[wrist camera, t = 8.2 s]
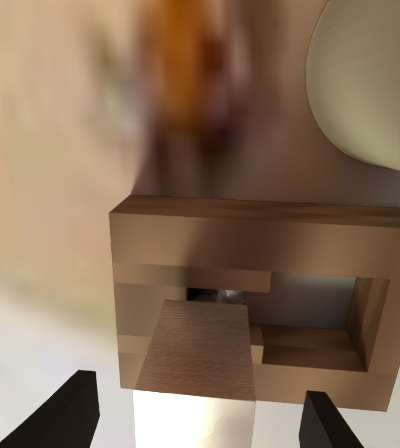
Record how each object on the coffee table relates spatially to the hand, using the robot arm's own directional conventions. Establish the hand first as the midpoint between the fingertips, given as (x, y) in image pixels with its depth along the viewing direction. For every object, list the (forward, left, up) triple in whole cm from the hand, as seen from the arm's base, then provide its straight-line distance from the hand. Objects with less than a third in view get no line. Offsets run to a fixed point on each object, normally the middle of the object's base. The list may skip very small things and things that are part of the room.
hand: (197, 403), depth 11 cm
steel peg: (0, 0, -8) cm, 8 cm away
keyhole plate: (-2, 0, -8) cm, 9 cm away
